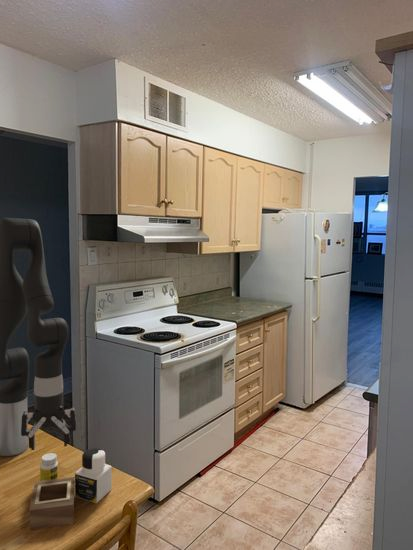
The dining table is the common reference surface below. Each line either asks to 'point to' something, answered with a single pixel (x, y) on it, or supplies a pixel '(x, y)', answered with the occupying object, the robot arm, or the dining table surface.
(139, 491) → the dining table surface
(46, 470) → the supplement bottle
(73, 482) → the socket block
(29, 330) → the robot arm
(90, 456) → the medicine bottle
